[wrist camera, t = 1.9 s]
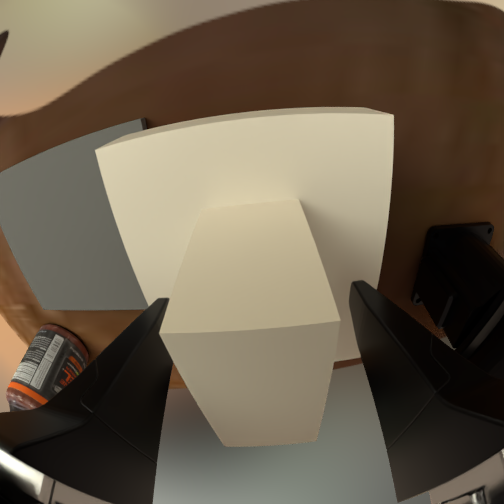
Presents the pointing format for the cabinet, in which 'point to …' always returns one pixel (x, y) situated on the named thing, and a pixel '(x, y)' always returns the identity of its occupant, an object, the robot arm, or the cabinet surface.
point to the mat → (69, 227)
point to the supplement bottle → (46, 368)
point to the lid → (256, 253)
